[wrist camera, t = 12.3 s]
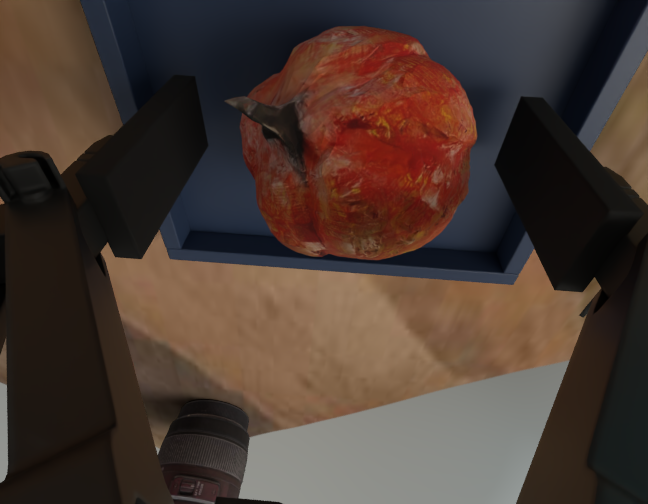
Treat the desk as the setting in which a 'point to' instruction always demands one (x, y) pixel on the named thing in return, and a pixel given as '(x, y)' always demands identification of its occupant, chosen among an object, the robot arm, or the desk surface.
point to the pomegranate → (358, 145)
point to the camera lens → (205, 452)
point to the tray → (441, 46)
